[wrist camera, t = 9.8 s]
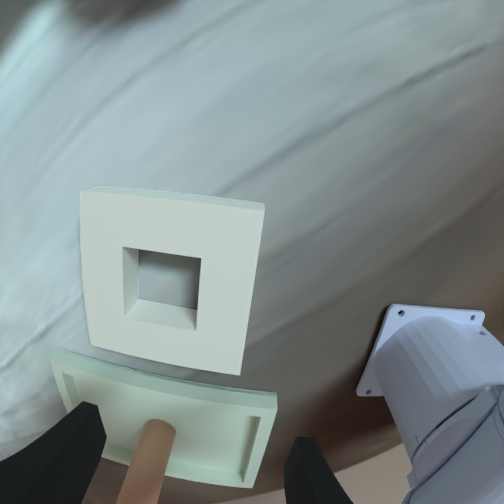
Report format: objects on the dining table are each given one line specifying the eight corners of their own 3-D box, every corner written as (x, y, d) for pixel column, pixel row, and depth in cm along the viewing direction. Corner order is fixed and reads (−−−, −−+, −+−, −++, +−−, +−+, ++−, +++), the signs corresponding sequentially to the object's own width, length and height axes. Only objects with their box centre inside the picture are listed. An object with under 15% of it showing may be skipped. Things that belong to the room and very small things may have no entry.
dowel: (175, 423, 22) (150, 510, 14) (176, 441, 23) (155, 522, 14) (144, 416, 22) (112, 499, 14) (147, 434, 23) (119, 512, 14)
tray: (276, 392, 21) (277, 409, 19) (252, 474, 25) (252, 488, 23) (60, 347, 21) (49, 359, 19) (88, 438, 25) (82, 449, 23)
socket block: (264, 203, 17) (264, 211, 15) (242, 351, 20) (239, 375, 18) (101, 185, 17) (80, 190, 15) (105, 326, 20) (90, 344, 18)
